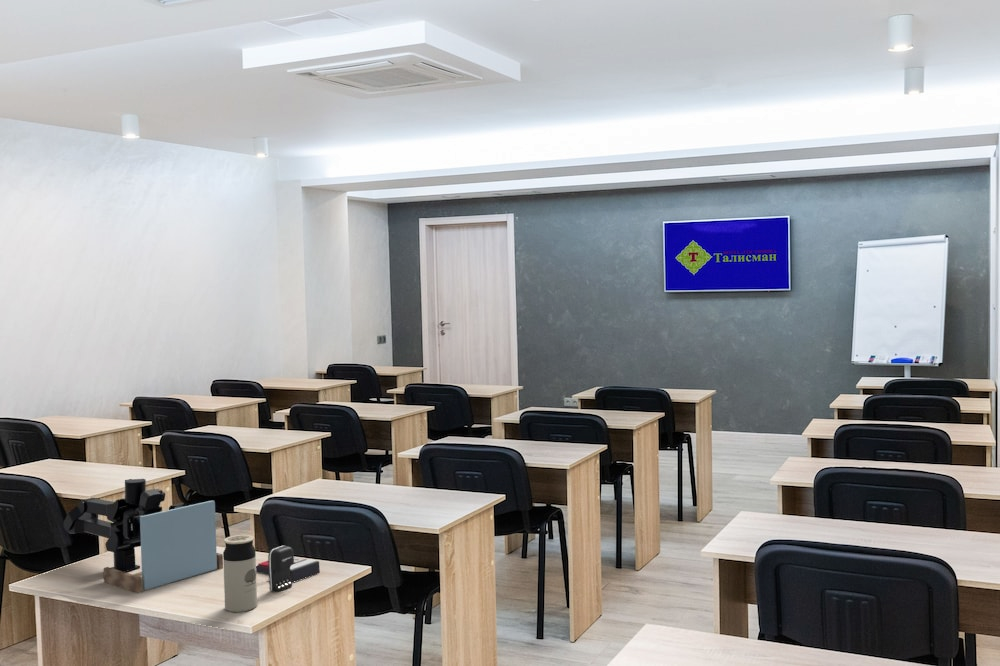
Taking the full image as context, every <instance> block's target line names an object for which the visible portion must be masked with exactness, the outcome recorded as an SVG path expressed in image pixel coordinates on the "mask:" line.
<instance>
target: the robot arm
mask: <svg viewBox="0 0 1000 666" xmlns="http://www.w3.org/2000/svg"><path fill="white" fill-rule="evenodd" d="M146 485H147V480H146V478H135V479H133V478H130V479H125V480H124V498H119V499H116V500H115V501H111V500H106V499H99V498H98V497H91V498H86V499H81V500H80V501H78V503H77V505H75V507H74V508H72V509H71V510H70V511H69V512H67V515H66V517H65V518H64V521H63V528H64V530H65V531H66V532H67V533H68V534H71V535H72V534H74V535H75V534H81V533H87V534H91V535H94V536H98V537H102V538H106V539H107V540H106V541H105V550H106V551H108V552H112V553H113V566H111V567H110V568H113V569H116V570H119V571H123V572H126V573H127V572H130V571H132V570H137V569H140V568H141V565H137V564H136V551H135V548H138V547H140V548H141V534H140V516H144V515H149V514H153V513H158V512H162V511H163V507H162V506H160V505H161V503H163V502H165V499H166V492H165V491H163V490H162V489H159V488H157V489H156V488H152V489H147V487H146ZM185 506H187V505H186V504H185V503H182V502H180V503H175V504H171V505H169V507H168V510H171V509H176V508H180V507H185ZM99 516H103V517H106V520H103V519H99ZM107 520H108V521H107Z"/></svg>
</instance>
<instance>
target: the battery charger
mask: <svg viewBox="0 0 1000 666" xmlns="http://www.w3.org/2000/svg"><path fill="white" fill-rule="evenodd" d="M267 556H268V559H267V561H268V567H269V574H268V581H269V591H271V592H282V591H284V590H286V589H289V588H291V587H292V586H293V583H292V581H291V578H290V567H291V565H293V564H294V558H295V556H294V550H293V548H292V547H291V546H287V545H281V546H277V547H274V548H272V549H270V550H269V552H268V555H267Z"/></svg>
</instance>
